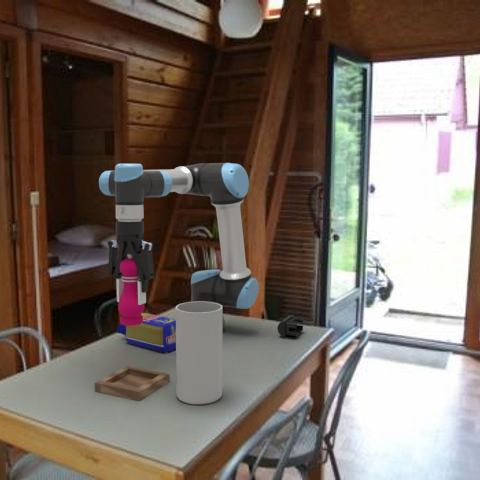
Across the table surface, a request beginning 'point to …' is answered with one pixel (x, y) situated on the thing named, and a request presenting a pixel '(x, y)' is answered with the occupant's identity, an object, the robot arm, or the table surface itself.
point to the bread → (152, 333)
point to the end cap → (290, 327)
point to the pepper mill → (130, 294)
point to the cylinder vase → (199, 352)
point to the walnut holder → (132, 383)
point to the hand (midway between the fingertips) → (131, 302)
